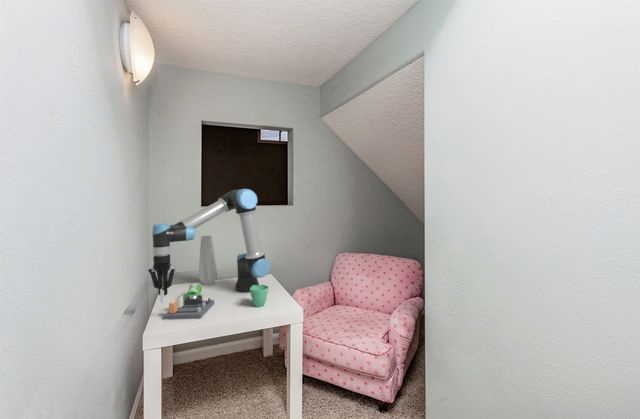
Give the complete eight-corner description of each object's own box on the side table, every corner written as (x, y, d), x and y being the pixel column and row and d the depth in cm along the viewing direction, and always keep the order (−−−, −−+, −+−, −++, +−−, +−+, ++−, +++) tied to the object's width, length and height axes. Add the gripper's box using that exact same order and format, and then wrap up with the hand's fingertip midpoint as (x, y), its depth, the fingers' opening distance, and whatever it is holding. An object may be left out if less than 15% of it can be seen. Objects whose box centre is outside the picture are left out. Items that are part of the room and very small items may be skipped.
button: (199, 300, 171) (199, 293, 171) (196, 302, 167) (196, 296, 167) (191, 300, 171) (191, 294, 171) (188, 303, 167) (187, 296, 167)
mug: (271, 306, 166) (271, 288, 166) (254, 310, 161) (253, 291, 161) (261, 299, 179) (260, 282, 178) (244, 302, 173) (244, 285, 173)
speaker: (199, 303, 175) (198, 290, 174) (185, 304, 173) (185, 291, 172) (202, 293, 192) (201, 281, 191) (189, 295, 190) (189, 283, 189)
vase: (221, 281, 218) (219, 235, 217) (211, 286, 207) (209, 237, 205) (205, 280, 221) (204, 235, 219) (195, 285, 210) (193, 237, 208)
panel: (214, 303, 173) (213, 294, 173) (200, 318, 152) (200, 308, 152) (181, 304, 172) (181, 295, 172) (163, 319, 151) (163, 309, 151)
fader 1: (177, 310, 157) (177, 300, 157) (174, 313, 153) (173, 302, 153) (172, 310, 157) (172, 300, 157) (169, 313, 153) (168, 302, 153)
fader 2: (183, 305, 164) (182, 295, 164) (180, 308, 160) (179, 298, 160) (178, 305, 164) (178, 295, 164) (175, 308, 160) (175, 298, 160)
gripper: (178, 253, 158) (179, 298, 159) (152, 253, 158) (154, 299, 158) (171, 256, 150) (173, 303, 151) (144, 256, 150) (146, 304, 151)
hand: (163, 301), depth 155 cm, fingers closed
